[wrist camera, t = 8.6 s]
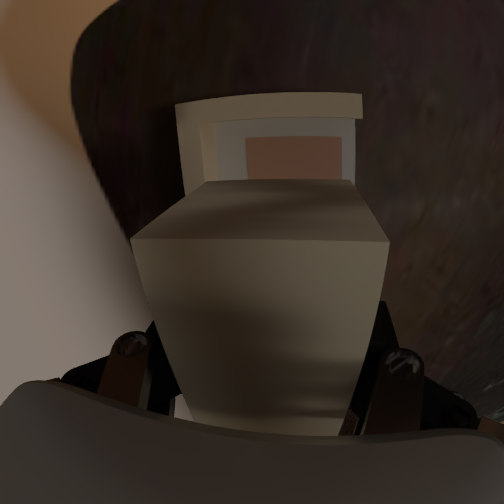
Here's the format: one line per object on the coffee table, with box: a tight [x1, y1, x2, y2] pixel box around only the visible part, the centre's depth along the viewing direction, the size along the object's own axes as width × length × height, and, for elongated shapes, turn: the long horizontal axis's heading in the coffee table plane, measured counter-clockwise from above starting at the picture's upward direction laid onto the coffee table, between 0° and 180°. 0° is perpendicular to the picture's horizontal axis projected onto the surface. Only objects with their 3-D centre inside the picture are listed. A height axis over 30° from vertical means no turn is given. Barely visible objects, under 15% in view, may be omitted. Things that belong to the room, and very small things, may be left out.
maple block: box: [130, 179, 390, 436], centre depth 9 cm, size 5×9×5 cm, turn 4°
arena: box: [175, 92, 363, 196], centre depth 21 cm, size 18×12×4 cm, turn 4°
